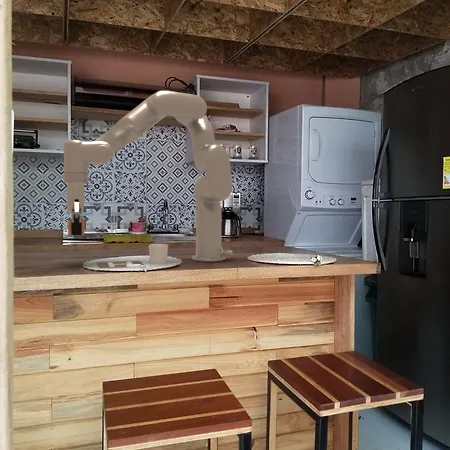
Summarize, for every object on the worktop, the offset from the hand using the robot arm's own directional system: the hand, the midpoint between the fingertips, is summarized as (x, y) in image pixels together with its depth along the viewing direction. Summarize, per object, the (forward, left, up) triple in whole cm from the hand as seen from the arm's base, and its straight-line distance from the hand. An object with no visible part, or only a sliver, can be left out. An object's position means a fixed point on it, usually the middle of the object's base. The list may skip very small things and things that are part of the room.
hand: (76, 233), depth 148 cm
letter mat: (-12, -7, -11) cm, 18 cm away
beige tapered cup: (-24, -14, -12) cm, 30 cm away
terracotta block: (0, 0, 0) cm, 0 cm away
